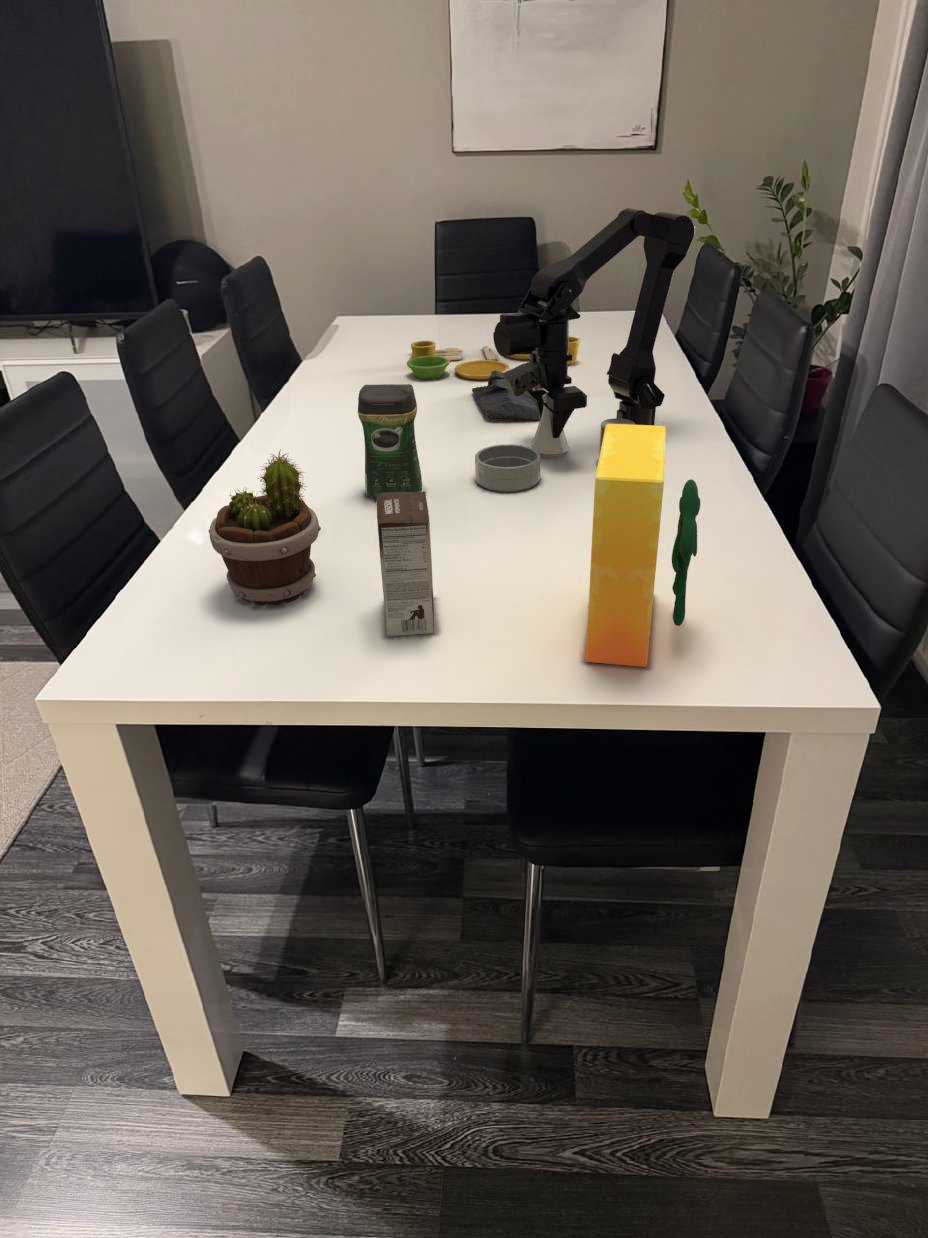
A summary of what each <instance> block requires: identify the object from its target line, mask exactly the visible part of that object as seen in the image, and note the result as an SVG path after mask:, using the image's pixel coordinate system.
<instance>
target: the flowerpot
mask: <svg viewBox="0 0 928 1238" xmlns="http://www.w3.org/2000/svg"><path fill="white" fill-rule="evenodd" d="M281 449H282V448H280V449H279V451H278V456H277V455H275V454H274V453H273V454H271V453H270V455H271V456H270V458H272V459H267V462H266V463H264V464H263V465H262V466H261V465H260V466H259V467H262V469H261V471H264V472H263V473H262V474H261V473H260V474H259V475H260V476H258V477H257V478H256V480H258V479H259V482H260V483H261V485H260V488H261V491H259V490H258V491H257V492H256V495H254V491H251V492H248V491H247V490H248V489H249V488H248V487H246V488H243V490H242V491H240V490H239V489H236V490H234V489H233V490H232V489H231V492H232V491H234V492H235V495H232V494H229V497H230V501H229V502H228V505H224V506H222V507H221V508H220V509H219V510H218V512H217V513H216V517H215V518H214V519H213V520H212V521H211V523H210V526H209V529H208V534H209V541H210V543H211V546H212V548H213V550H214V551H215V552H216V553H217V554H219V555H220V556H221V558H222V560H223V562H224V566H225V568H226V569H227V572H226V580H227V582H228V584H229V586H230V589H231V590H232V592H233V594H235V595H236V596H237V597H239V599H240V600H241V601H243V602H245V603H247V602H253V603H254V605H256V606H258V607H264V606H271V607H272V606H280V605H283V604H288V603H291V602H294V601H296V600H298V599H299V598H300V597H301V596H302V597H303V596H304V594H305V593H306V592H307V590H308V588H309V587H310V586H311V585H312V583H313V581H314V578H316V577H317V574H316V566H315V563H314V562H313V560H312V559H311V550H312V545H313V544H314V543H315V542H316V541H317V539H318V537H319V533H320V531H321V529H322V528H321V526H320V522H319V519H318V516H317V514H316V512H315V511H314V510H313V509H312V508H310V507H309V506H308V504H306V502H305V500H304V499H303V498H304V495H303V493H301V492H303V491H304V490H305V492H306V489H305V488H307V486H306V485H305V482H302V481H304V478H303V474H306V472H304V471H302V469H300V467H298V465H297V464H296V460H294V459H293V458H292V459H290V458H288V457H289V452H287V453H283V454H282V455H281ZM285 456H286V457H285ZM292 460H293V461H292ZM266 465H267V466H266ZM299 469H300V470H299ZM300 478H301V479H302V480H300ZM262 486H263V487H262ZM304 487H305V488H304ZM236 491H237V492H236ZM258 492H259V493H261V495H258ZM257 495H258V496H257Z"/></svg>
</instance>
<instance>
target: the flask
mask: <svg viewBox="0 0 928 1238" xmlns="http://www.w3.org/2000/svg"><path fill="white" fill-rule="evenodd" d="M546 394H547V393H546ZM546 394H544V395H542V398H543V400H544V403H547V401H546ZM530 448H533V449H535V450H537V451H538V452H539V453H540V454H543V455H558V454H564V453H566V452H567V451H568V450H570V445H569V442H568V439H567V436H566V433H565V430H564V429H563V430H562V432H561V434H560V436H559V437H558V438H553V436H552V430H551V421H550V412H549V410H548V409H547V408H546V407H545V406H544V407H543V412H542V417H541V420H540V419H539V423H538V425H537V429H536V431H535V434H534V436H533V438H532V441H531V444H530Z"/></svg>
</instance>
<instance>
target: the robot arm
mask: <svg viewBox="0 0 928 1238" xmlns="http://www.w3.org/2000/svg"><path fill="white" fill-rule="evenodd" d="M695 233H696V226H695V225H694V223H693V220H692V219H691V217H689V216H687V215H685V214H678V213H673V212H667V211H658V212H656V213H654V214H653V213H649V212H646V211H645V210H642V209H636V208H630V207H628V208H625V209H622V210H621V211H620V212H619V213H618V215H617V217H615V218H614V219H613V220H612V221H610V223H608V224H607V225H606V226H604V227H603V228H602V229H601V230H599V232H597V233H596V234H595V235H594V236H592V237H591V238H590V239H589V240H588V241H587V242H585V243H584V244H583V246H580V247H579V248H578V249H577V250H576V251H575V252H574V253H573V254H571V255H569V256H568V257H566V258H564V259H561V260H558V261H555V262H552V263H551V264H549V265H548V266H547V265H546V266H545V267H544V268H542V269H540V270H538V272H536V273H535V274H534V275H533V276H532V279H531V285H530V288H529V289H528V291H527V292H526V294H525V296H524V298H523V299H522V301H521V303H520V304H519V307H518V308H517V311H518V312H514V313H507V312H506V313H501V314H500V315H499V322H497V323H496V325H495V327H494V331H493V333H492V336H493V337H492V338H493V344H494V347H495V349H496V352H497V353H498V355H500V357H504V358H505V357H508V356H511V355H516V354H521V353H527V352H532V354H530V359H529V361H527V362H524V363H521V364H519V365H517V366H515V367H513V368H511V369H509V370H508V371H507V372H505V373H504V374H503V376H504V379H505V382H506V385H507V387H508V390H509V392H511V393H513V395H514V396H520V395H522V394H524V392H528V393H529V394H530V395H531V396H532V397H533V398H534V400H535V403H536V407H537V410H538V414H539V418H540V419H539V421H540V420H541V417H542V412H543V407H544V406H545V407H546V408H547V409H548V410H549V412H550V421H551V430H552V436H553V438H558V437H559V436H560V434H561V432H562V430H564V428H565V426H566V424H567V423H568V421H569V419H570V418H571V416H572V414H573V412H574V411H575V410H578V409H585V408H587V407H588V395H587V394H586V393H585V392H584V391H583V390H582V389H580V388H579V387H577V386H576V385H571V384H572V382H573V381H572V377H571V376H570V375H568V372H569V364H568V361H572V354H570V353H569V352H568V344H569V337H570V321H574V320H579V319H581V314H580V313H579V312H578V311H577V310H575V308H574V307H573V304H574V302H575V301H576V300H577V299H578V298H579V297H580V296H581V294H582V293H583V291H584V290H585V286H586V284H587V282H588V281H589V279H591V277H592V276H593V275H595V274H596V273H597V272H598V271H599V270H600V269H602V268H603V267H604V266H605V265H607V263H609V262H610V261H611V260H612V259H613V258H615V257H616V256H617V255H619V253H620V252H622V251H623V250H624V249H625V248H627V246H628V245H630V244H631V243H632V242H634V240H637V238H639V237H644V239H643V252H644V256H645V261H646V266H645V271H644V274H643V279H642V283H641V287H640V290H639V294H638V298H637V302H636V306H635V310H634V314H633V318H632V321H631V326H630V330H629V334H628V338H627V340H626V341H627V342H626V345H625V347H624V348H623V349H622V350H621V351H620V352H619V353H615V352H613V353H612V355H611V358H610V365H609V368H608V369H607V372H606V375H608V378H607V379H608V380H607V382H608V385H609V387H610V389H611V390H612V393H613V395H614V398H615V399H617V400H620V401H619V403H618V404H619V405H618V406H619V407H618V409H617V410H616V417H615V418H621V419H627V420H631V421H633V422H634V423H635V425H654V426H655V423H656V422H655V421H656V411H657V408H658V407H661V406H662V405H663V403H664V399H665V396H666V395H665V393H664V392H663V391H662V390H661V389H660V388H659V387H658V385H657V384H656V383H655V379H656V371H657V367H656V362H655V357H654V348H655V343H656V340H657V337H658V332H659V329H660V325H661V322H662V318H663V313H664V311H665V306H666V302H667V298H668V295H669V292H670V287H671V283H672V280H673V276H674V272H675V270H676V268H678V267H679V265H680V264H681V263H682V261H683V260H684V259H685V258H686V257H687V255H688V252H689V250H690V248H691V245H692V242H693V241H694V238H695ZM540 305H542V306H545V307H542V306H540ZM535 349H536V351H534V350H535ZM565 385H570V386H565ZM546 393H547V394H546ZM544 394H546V401H547V403H544V400H543V398H542V395H544Z"/></svg>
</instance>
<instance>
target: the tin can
mask: <svg viewBox="0 0 928 1238" xmlns="http://www.w3.org/2000/svg"><path fill="white" fill-rule="evenodd" d="M607 424H629V425H635V423H634V422H633V421H631V420H627V419H621V418H616V417H615V418H614V417H613V418H608V419H607V418H606V419H604V420H602V421H601V422H600V430H599V431H600V432H599V433H600V434H599V453H598V458H599V457H600V452H601V447H602V442H603V437H604V432H605V427H606V425H607Z"/></svg>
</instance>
